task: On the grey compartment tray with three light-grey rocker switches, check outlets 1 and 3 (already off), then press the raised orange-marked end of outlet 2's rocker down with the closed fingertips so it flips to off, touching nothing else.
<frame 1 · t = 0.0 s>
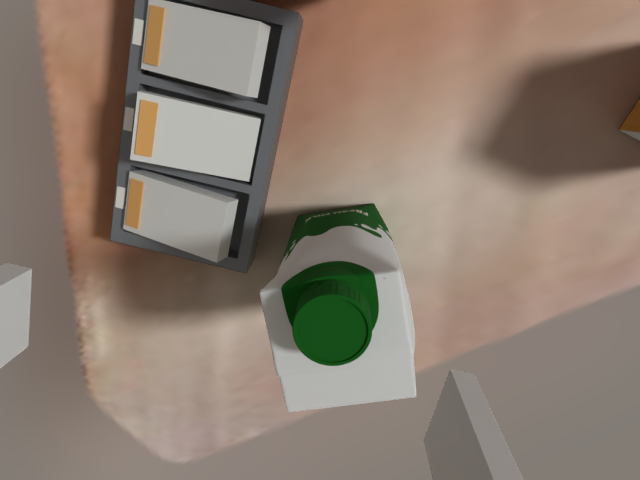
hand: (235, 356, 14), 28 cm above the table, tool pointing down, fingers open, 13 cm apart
rocker 2: (196, 137, 36), point 4 cm above the table, hinge at -15.0°
rocker 1: (203, 48, 34), point 4 cm above the table, hinge at 15.0°
rocker 3: (178, 214, 38), point 4 cm above the table, hinge at 15.0°
grey compartment tray: (209, 132, 40), on the table
milk carton: (342, 246, 43), on the table
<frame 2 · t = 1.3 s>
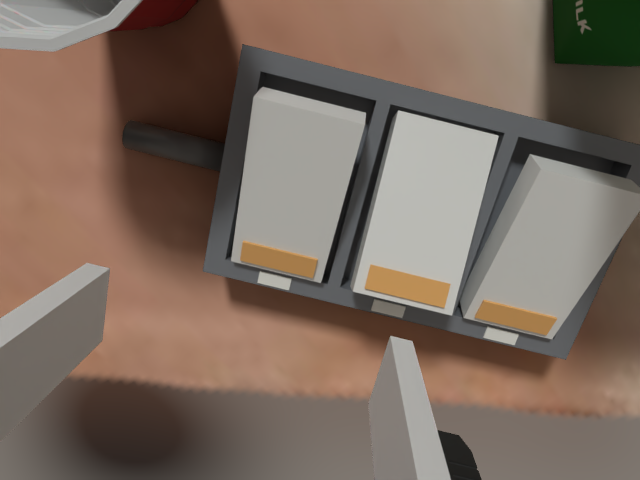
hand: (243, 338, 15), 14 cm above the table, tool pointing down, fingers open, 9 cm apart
rocker 2: (421, 214, 23), point 4 cm above the table, hinge at -15.0°
rocker 1: (293, 192, 23), point 4 cm above the table, hinge at 15.0°
rocker 3: (542, 254, 23), point 4 cm above the table, hinge at 15.0°
grey compartment tray: (408, 200, 27), on the table
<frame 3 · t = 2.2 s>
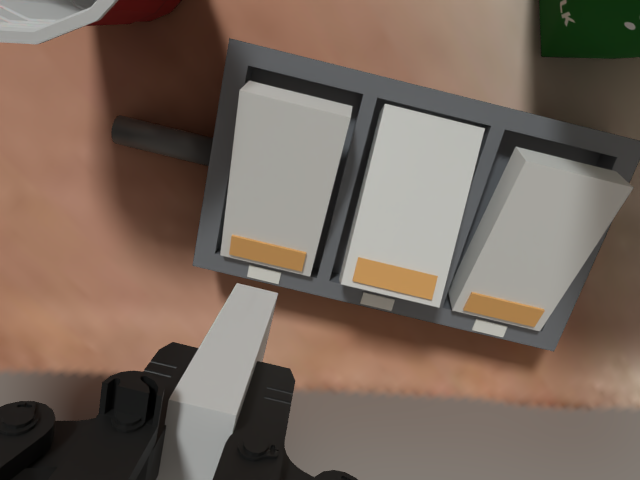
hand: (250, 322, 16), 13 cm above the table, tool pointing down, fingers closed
rocker 2: (409, 207, 23), point 4 cm above the table, hinge at -15.0°
rocker 1: (281, 186, 23), point 4 cm above the table, hinge at 15.0°
rocker 3: (529, 246, 24), point 4 cm above the table, hinge at 15.0°
grey compartment tray: (397, 194, 28), on the table
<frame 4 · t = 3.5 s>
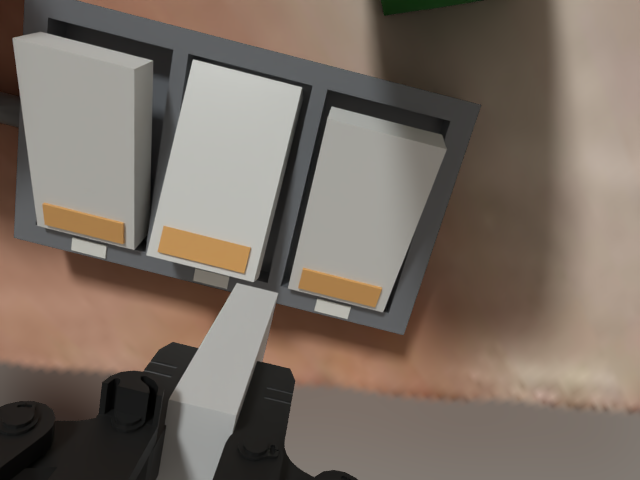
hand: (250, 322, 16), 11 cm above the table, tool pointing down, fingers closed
rocker 2: (227, 173, 22), point 4 cm above the table, hinge at -15.0°
rocker 1: (90, 149, 22), point 4 cm above the table, hinge at 15.0°
rocker 3: (359, 218, 22), point 4 cm above the table, hinge at 15.0°
grey compartment tray: (245, 166, 26), on the table
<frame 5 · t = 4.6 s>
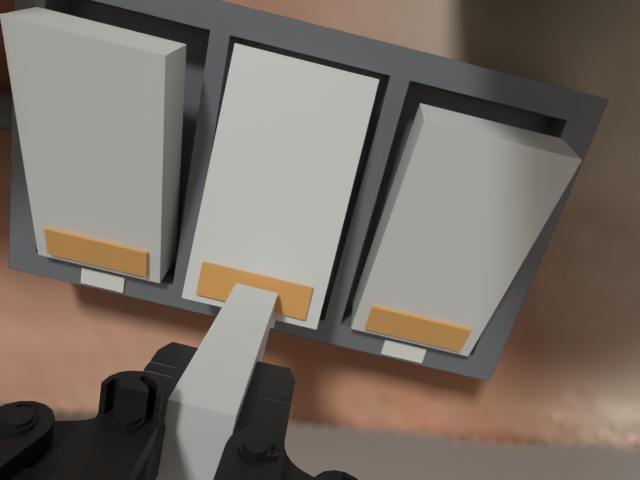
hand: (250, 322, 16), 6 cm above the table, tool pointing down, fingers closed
rocker 2: (279, 191, 17), point 4 cm above the table, hinge at -11.0°, touching gripper
rocker 1: (104, 160, 17), point 4 cm above the table, hinge at 15.0°
rocker 3: (446, 244, 17), point 4 cm above the table, hinge at 15.0°
grey compartment tray: (291, 174, 21), on the table
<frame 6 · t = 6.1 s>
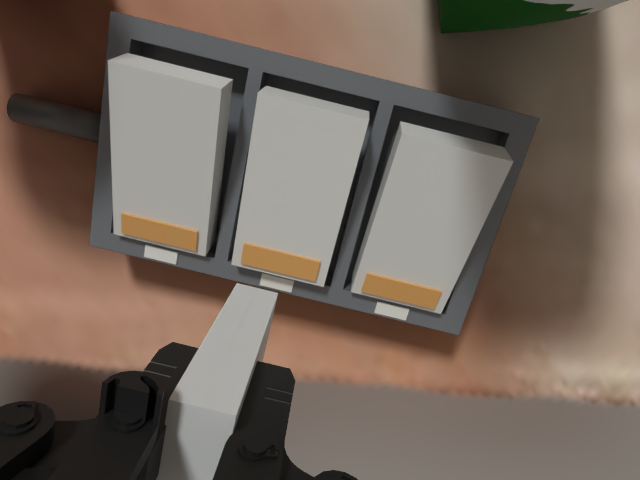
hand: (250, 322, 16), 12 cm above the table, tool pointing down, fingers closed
rocker 2: (296, 192, 23), point 4 cm above the table, hinge at 10.5°
rocker 1: (168, 162, 23), point 4 cm above the table, hinge at 15.0°
rocker 3: (422, 225, 23), point 4 cm above the table, hinge at 15.0°
grey compartment tray: (304, 175, 27), on the table
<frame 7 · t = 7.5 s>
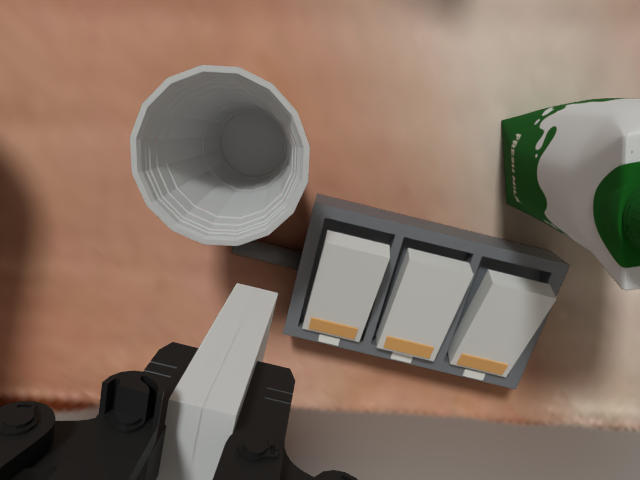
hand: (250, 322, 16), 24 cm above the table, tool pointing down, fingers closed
plastic cup: (256, 142, 39), on the table
rocker 2: (421, 307, 38), point 4 cm above the table, hinge at 11.2°
rocker 1: (343, 289, 38), point 4 cm above the table, hinge at 15.0°
rocker 3: (497, 326, 38), point 4 cm above the table, hinge at 15.0°
grey compartment tray: (414, 284, 42), on the table
milk carton: (547, 155, 38), on the table
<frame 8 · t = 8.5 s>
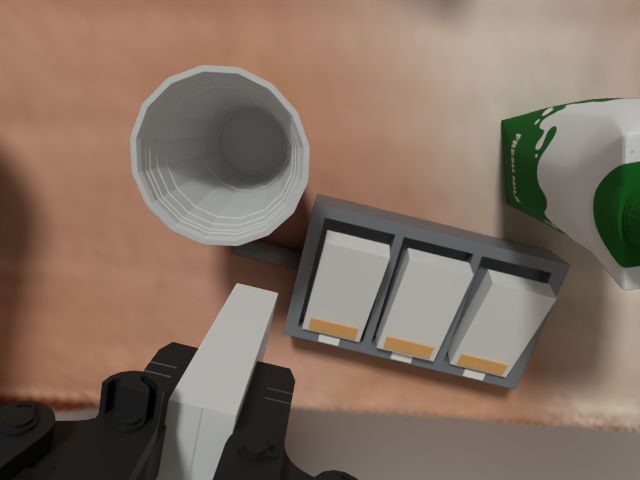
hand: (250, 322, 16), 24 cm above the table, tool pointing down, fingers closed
plastic cup: (256, 142, 39), on the table
rocker 2: (421, 307, 38), point 4 cm above the table, hinge at 11.3°
rocker 1: (343, 289, 38), point 4 cm above the table, hinge at 15.0°
rocker 3: (497, 326, 38), point 4 cm above the table, hinge at 15.0°
grey compartment tray: (414, 284, 42), on the table
milk carton: (547, 155, 38), on the table
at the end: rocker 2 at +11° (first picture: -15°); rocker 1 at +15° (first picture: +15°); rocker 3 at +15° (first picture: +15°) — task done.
